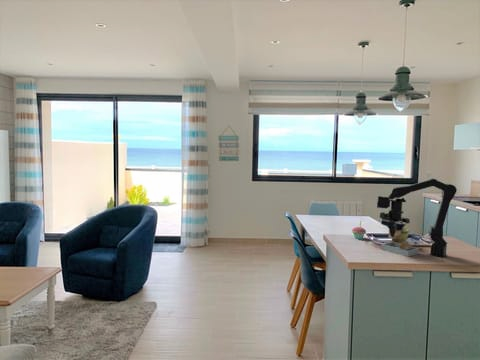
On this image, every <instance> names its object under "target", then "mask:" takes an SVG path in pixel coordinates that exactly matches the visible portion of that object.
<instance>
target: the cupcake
mask: <svg viewBox="0 0 480 360" xmlns="http://www.w3.org/2000/svg"><path fill="white" fill-rule="evenodd" d="M351 233H352V234H353V236H354V238H355V239H357V240H362V239H363V238H364V236H365V235H366V234H367V230H366V228H363V227H362V220H360V221H359V226H356V227H354V228H352V229H351Z"/></svg>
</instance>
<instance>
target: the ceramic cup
mask: <svg viewBox="0 0 480 360" xmlns="http://www.w3.org/2000/svg"><path fill="white" fill-rule="evenodd" d="M409 232H410V230H409V229H408V228H405V227H404V228H403V229H402V231H401V238H400V239H392V238H391V242H396V243H407V241H408V236H409Z"/></svg>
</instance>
